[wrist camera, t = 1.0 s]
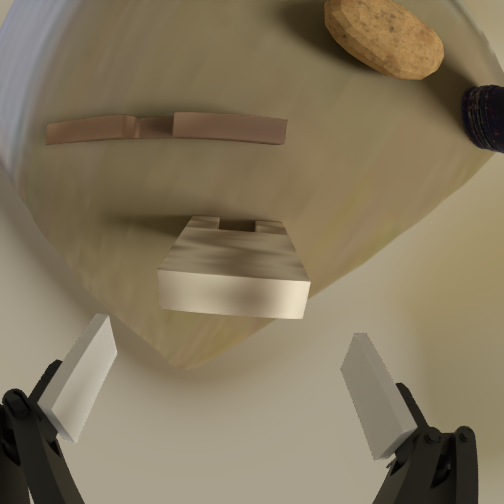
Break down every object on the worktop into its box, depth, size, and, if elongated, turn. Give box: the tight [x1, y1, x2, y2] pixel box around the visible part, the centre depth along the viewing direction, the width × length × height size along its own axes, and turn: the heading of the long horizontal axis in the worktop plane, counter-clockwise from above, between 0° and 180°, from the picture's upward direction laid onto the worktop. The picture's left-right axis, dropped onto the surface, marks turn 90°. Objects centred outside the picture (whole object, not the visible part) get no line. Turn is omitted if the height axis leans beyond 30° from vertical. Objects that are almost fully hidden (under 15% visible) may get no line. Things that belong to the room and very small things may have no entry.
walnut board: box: [46, 112, 287, 145], centre depth 23 cm, size 2×22×8 cm, turn 84°
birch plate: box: [158, 215, 311, 319], centre depth 24 cm, size 10×3×14 cm, turn 84°
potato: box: [324, 0, 444, 80], centre depth 19 cm, size 10×14×8 cm
